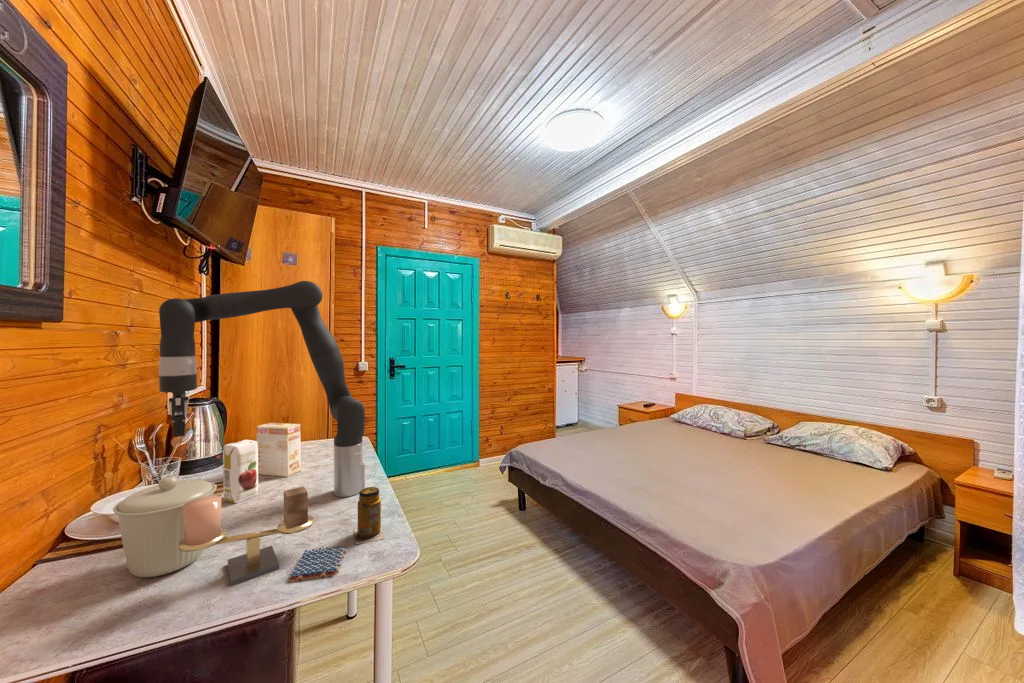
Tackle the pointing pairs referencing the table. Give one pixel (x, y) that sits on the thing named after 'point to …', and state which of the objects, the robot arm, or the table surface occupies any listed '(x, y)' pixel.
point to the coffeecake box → (279, 449)
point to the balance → (250, 552)
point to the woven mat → (318, 563)
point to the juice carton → (240, 471)
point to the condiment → (369, 516)
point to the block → (295, 507)
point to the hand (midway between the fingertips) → (179, 433)
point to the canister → (158, 526)
